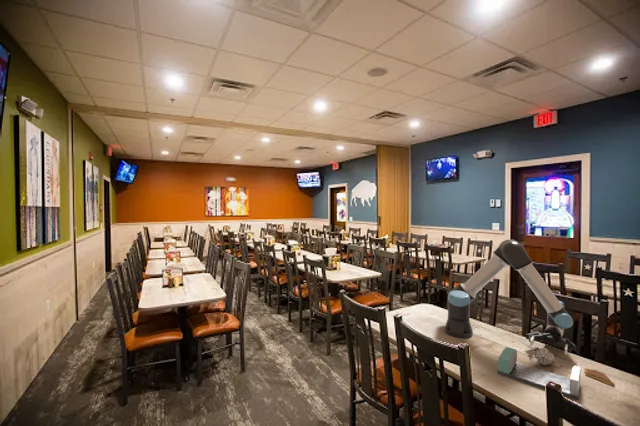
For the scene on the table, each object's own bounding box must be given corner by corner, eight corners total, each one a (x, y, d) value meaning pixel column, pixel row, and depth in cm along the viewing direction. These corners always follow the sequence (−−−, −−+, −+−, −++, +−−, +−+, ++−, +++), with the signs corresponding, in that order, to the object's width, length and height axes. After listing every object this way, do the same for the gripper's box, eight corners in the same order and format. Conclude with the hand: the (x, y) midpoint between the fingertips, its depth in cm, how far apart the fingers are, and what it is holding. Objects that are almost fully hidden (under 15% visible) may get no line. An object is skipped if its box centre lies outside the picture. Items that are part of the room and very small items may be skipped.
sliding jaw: (506, 359, 147) (506, 346, 147) (517, 362, 144) (517, 349, 144) (498, 370, 137) (498, 357, 137) (510, 374, 134) (510, 360, 134)
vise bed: (504, 362, 148) (505, 346, 148) (580, 384, 129) (580, 367, 129) (497, 373, 138) (497, 357, 137) (577, 400, 119) (578, 380, 119)
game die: (549, 374, 144) (563, 363, 138) (530, 366, 146) (543, 355, 140) (545, 357, 151) (558, 346, 145) (527, 349, 153) (539, 338, 147)
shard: (615, 388, 128) (615, 383, 128) (591, 384, 130) (592, 379, 130) (602, 374, 138) (602, 370, 138) (581, 371, 141) (581, 367, 141)
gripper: (583, 348, 158) (581, 363, 142) (525, 334, 175) (517, 347, 159) (583, 333, 158) (581, 347, 142) (525, 321, 175) (517, 332, 159)
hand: (547, 347), depth 151 cm, fingers open, 13 cm apart
